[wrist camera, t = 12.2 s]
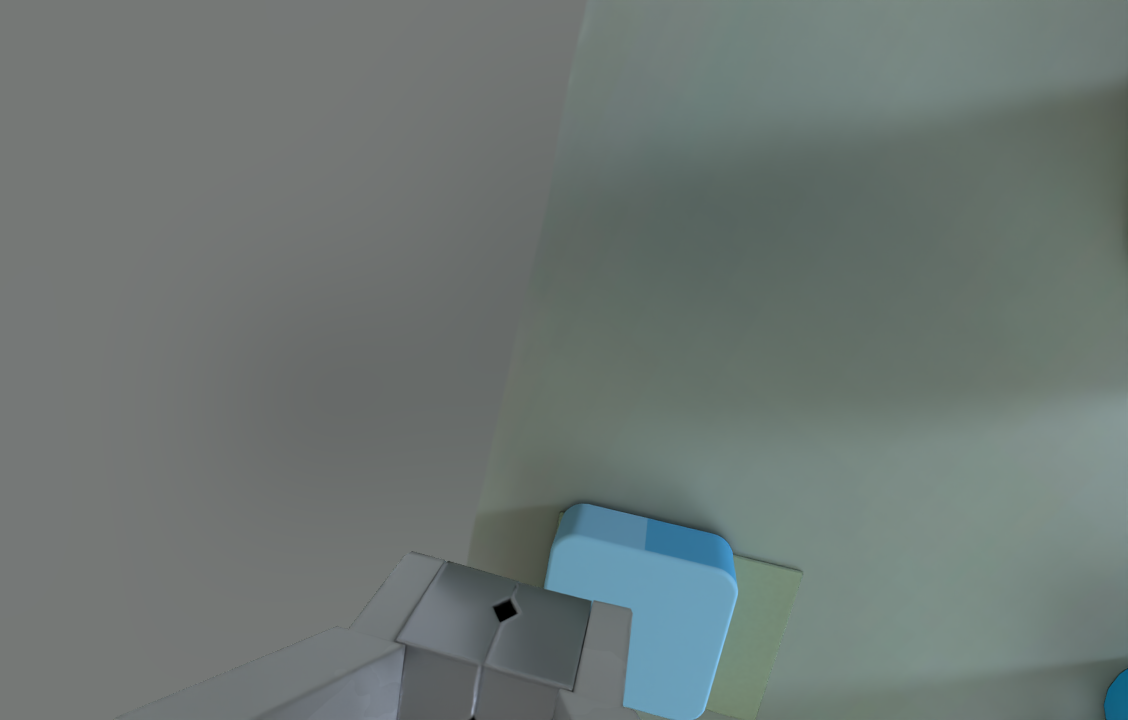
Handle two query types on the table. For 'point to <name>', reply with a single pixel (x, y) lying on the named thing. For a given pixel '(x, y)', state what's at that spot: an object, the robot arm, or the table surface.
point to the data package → (652, 599)
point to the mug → (1117, 699)
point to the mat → (751, 636)
